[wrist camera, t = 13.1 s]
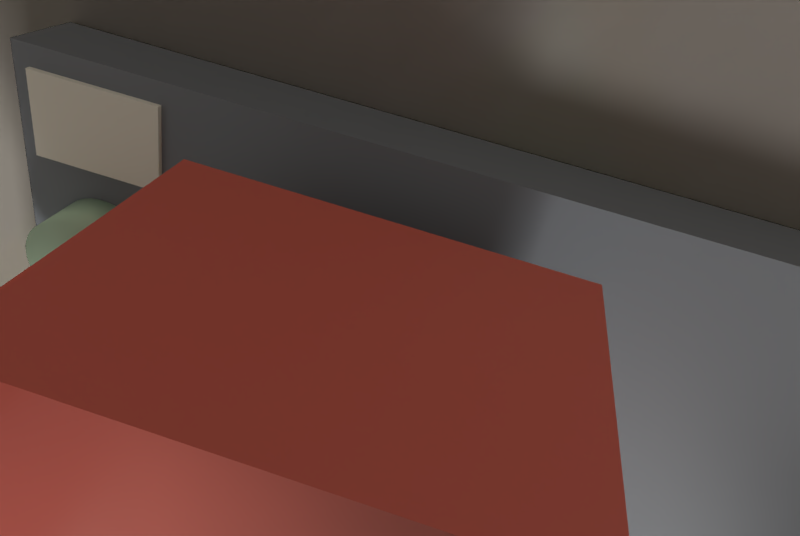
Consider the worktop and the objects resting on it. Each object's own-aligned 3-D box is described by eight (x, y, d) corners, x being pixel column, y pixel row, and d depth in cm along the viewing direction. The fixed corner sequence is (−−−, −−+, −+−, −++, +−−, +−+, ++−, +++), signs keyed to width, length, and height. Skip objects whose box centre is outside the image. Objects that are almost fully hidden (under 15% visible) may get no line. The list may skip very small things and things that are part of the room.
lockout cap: (601, 284, 8) (635, 596, 5) (477, 540, 12) (439, 840, 8) (184, 158, 9) (-91, 351, 5) (179, 440, 12) (11, 680, 9)
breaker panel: (1070, 308, 10) (1202, 415, 8) (681, 683, 18) (698, 788, 16) (70, 22, 11) (-39, 50, 9) (109, 486, 19) (54, 559, 17)
